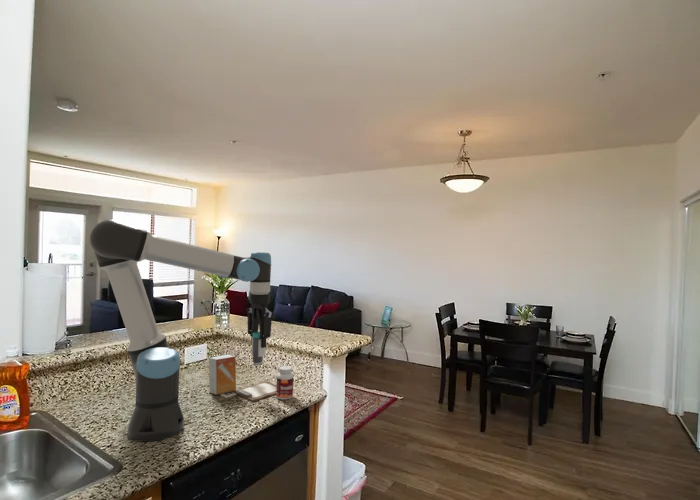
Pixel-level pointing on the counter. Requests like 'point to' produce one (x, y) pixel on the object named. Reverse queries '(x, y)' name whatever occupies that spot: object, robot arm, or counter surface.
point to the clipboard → (257, 391)
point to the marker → (256, 349)
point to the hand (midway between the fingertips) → (258, 354)
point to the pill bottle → (284, 383)
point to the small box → (222, 374)
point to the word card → (228, 394)
